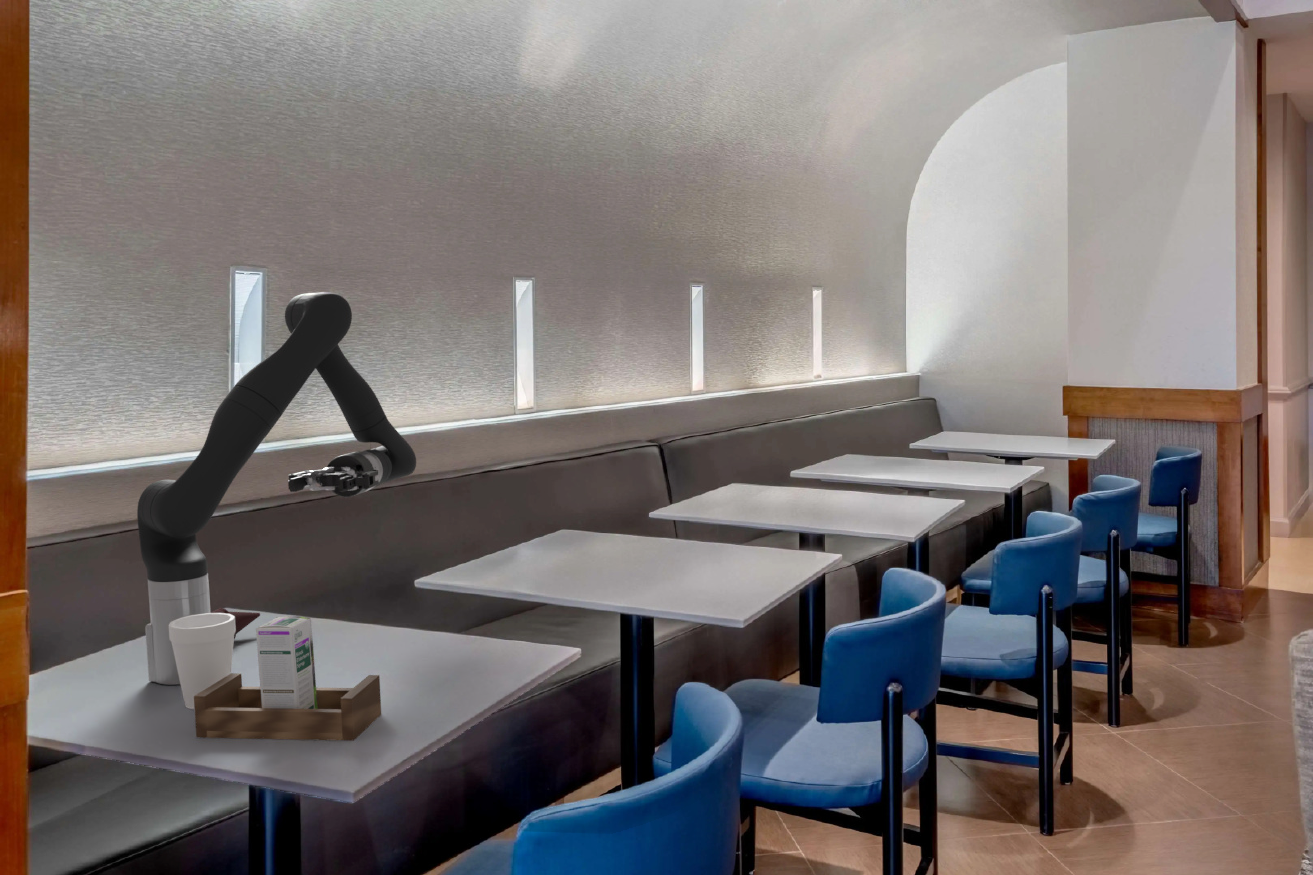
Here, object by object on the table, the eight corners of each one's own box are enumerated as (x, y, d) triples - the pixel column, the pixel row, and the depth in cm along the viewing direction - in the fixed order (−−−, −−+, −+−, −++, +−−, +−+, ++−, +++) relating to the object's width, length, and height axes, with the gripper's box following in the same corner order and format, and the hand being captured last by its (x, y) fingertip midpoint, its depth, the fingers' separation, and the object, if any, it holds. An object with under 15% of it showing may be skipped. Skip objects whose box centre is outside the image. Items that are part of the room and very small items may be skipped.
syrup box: (299, 726, 151) (293, 626, 150) (260, 725, 152) (255, 625, 151) (318, 712, 157) (313, 616, 156) (281, 711, 158) (275, 615, 157)
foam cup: (195, 716, 160) (190, 632, 158) (162, 705, 165) (156, 623, 164) (252, 698, 167) (247, 617, 166) (218, 688, 173) (213, 610, 171)
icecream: (245, 598, 208) (170, 621, 197) (264, 594, 203) (188, 617, 192) (255, 632, 208) (180, 658, 197) (274, 629, 203) (198, 655, 192)
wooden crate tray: (196, 737, 151) (193, 696, 150) (233, 711, 161) (231, 673, 161) (353, 740, 148) (351, 698, 148) (381, 714, 159) (379, 675, 158)
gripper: (316, 453, 192) (273, 463, 176) (392, 452, 191) (356, 462, 175) (318, 494, 193) (276, 508, 177) (394, 493, 191) (358, 507, 175)
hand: (316, 485), depth 176 cm, fingers open, 8 cm apart
